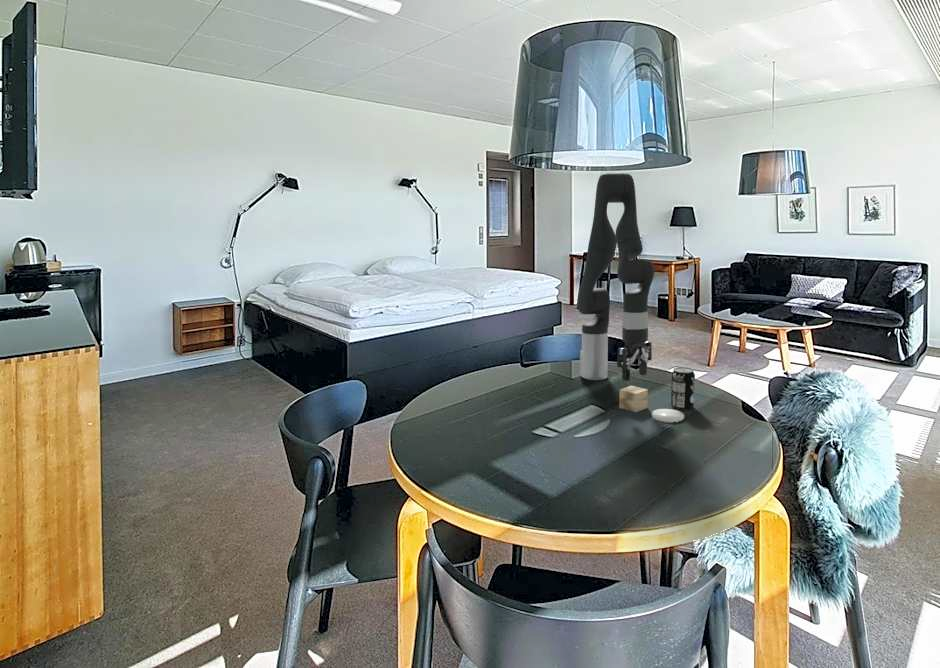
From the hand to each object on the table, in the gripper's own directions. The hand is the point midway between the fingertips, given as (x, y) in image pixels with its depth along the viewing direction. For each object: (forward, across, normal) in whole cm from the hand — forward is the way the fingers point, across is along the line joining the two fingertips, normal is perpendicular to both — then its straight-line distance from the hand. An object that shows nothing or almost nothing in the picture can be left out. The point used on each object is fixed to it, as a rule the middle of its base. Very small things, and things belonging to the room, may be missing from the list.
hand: (634, 377), depth 170 cm
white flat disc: (+10, 0, +12) cm, 15 cm away
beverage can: (+10, -11, +10) cm, 18 cm away
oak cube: (+10, 0, 0) cm, 10 cm away
